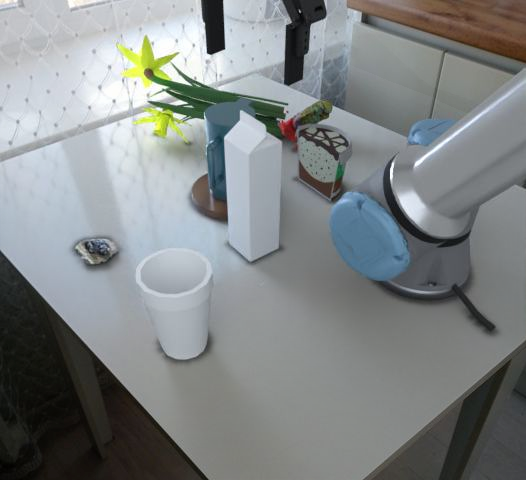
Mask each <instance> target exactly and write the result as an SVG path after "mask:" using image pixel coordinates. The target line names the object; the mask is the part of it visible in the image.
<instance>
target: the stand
mask: <svg viewBox="0 0 526 480" xmlns="http://www.w3.org/2000/svg"><path fill="white" fill-rule="evenodd" d="M191 200H192V204H193V205H194V207H195V208H196V210H198V211H199V212H200V213H202V214H203V215H205V216H207V217H210V218H212V219H217V220H221V221H228V206H227V201H222V200H219V199H217V198H215V197H214V196H213V195H212V194H211V193H210V189H209V184H208V172H206V173H205V174H203V175H201V176H199V177H198V178H197V180H195V182H194V183H193V185H192V186H191Z"/></svg>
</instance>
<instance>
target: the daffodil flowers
mask: <svg viewBox="0 0 526 480" xmlns="http://www.w3.org/2000/svg"><path fill="white" fill-rule="evenodd" d="M116 46H117V48H118V49H119V51H120V52H121V54H122V55H123V56H124V58H126V59H127V60H128V61H129V62H131V63H132V64H134V65H135V66H133V67H130V68H128V69H126V70H124V71H122V72H121V73H120V76H123V77H126V78H131V79H132V78H133V79H134V78H139V77H141V81H142V84H143V87H144V89H148V88H149V87H151V85H152V84H153V83H155V84H157V85H160V86H163V87H166V88H162V87H161V90H159V91H156V92H155V93H153V94H152V95H150V96H148V97H147V99H149V98H152V97H154V96H157V95H158V94H161V93H164V92H165V93H166V94H168V95H169V96H171V97H173V98H175V99H177V100H178V101H182V102H184V103H183V104H176V105H175V104H171V103H167V102H161V101H155V100H154V101H153V100H147V103H149V104H150V105H152V106H154V107H157V108H160V109H162V110H158V109H156V108H153V107H140V109H141V110H143V111H145V112H146V113H149V114H151V115H152V116H145V117H141V118H139V119H137V120H135V121H134V122H132V125H141V124H149V123H150V124H151V123H154V129H153V131H152V132H153V134H155V135H157V137H160V138H167V135H168V134H167V133H168V127H169V128H170V129H172V130H173V131H174V132H175V133H177V134H178V135H179V136H181V137H182V138H183V140H184V141H185V143H187V144H190V143H189V141H188V139H187V138H186V136H185V135H184V134H183V132H182V130H181V129H180V128H179V127H178V125H179V124H184V125H189V126H190V127H192V124H189V123H187V121H189V120H193V119H199V120H203V121H204V112H205V110H206V109H207V108H209V107H210V106H212V105H215V104H218V103H223V102H236V101H237V100H239V99H240V98H242V99H247V100H252V101H253V109H254V111H255V119H257V120H258V121H260V122H261V123H263V124H264V125H265V126H266V132H268V133H269V134H271V135H273V136H274V137H280V138H283V136H284V135H283V134H282V130H281V128H280V126H279V123H281V120H283V121H285V120H286V118H287V112H286V113H285V106H287V107H288V106H289V103H288V102H284V101H279V100H274V99H271V98H270V99H269V98H265V97H260V96H254V95H249V94H243V93H236V92H231V91H225V90H220V89H216V88H214V87H211V86H209V85H206V84H204V83H202V82H200V81H198V80H195V79H193V78H192V77H189V76H188V75H187V74H185V73H184V72H182V70H180V69H179V68H178V67H177V66H176V65H175V64H174V63H173V62H171V61H172V60H174V58H176V57H177V56H178V55H179V54H180V53H181V52H179V51H178V52H174V53H172V54H168V55H165V56H162V57H158V58H156V59H155V56H154V52H153V48H152V45H151V42H150V39H149V37H148V35H147V34H145V35H144V37H143V39H142V45H141V49H139V51H138V53H136V52H134V51H133V50H131V49H129V48H127V47H126V46H124V45H122V44H120V43H116ZM168 63H170V64H171V66H172V67H173V68H174V70H175V71H176V72H177V73H178V74H179V75H180V76H181V77H182V79H183V80H184V81H185V82H187V84H186V83H182V82H178V81H173V79H172V77H170V76H169V75H168V74H167V73H165V72H164V71H163V70H162V69H161V68H162V67H164V66H165V65H167V64H168ZM277 104H279V105H277ZM174 114H178V115H182V116H184V117H182V118H181V119H180V118H176V117H174ZM279 119H280V120H279Z"/></svg>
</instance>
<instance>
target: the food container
mask: <svg viewBox="0 0 526 480" xmlns="http://www.w3.org/2000/svg"><path fill="white" fill-rule="evenodd" d="M297 136H298V140H297V144H298V150H297V180H298V181H300V182H302V183H303V184H305V185H306V186H307V187H309V188H311V189H312V190H314V191H315V192H316V193H318V194H319V195H320V196H322V197H323V198H325V199H326V200H327V201H329V202H332V201H334V200H336V199H337V198H338V197H339V195H340V192H341V189H342V184H343V180H344V175H345V170H346V166H347V162H348V161H350V159H352V156H353V145H352V143H353V142H352V140H351V137H350V136H349V134H348V133H347V132H346V131H344V130H343V129H340V128H339V127H336V126H333V125H329V124H323V123H317V124H307V125H302V126H299V127H298V129H297V130H296V135H295V137H297Z"/></svg>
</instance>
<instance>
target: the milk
mask: <svg viewBox="0 0 526 480" xmlns="http://www.w3.org/2000/svg"><path fill="white" fill-rule="evenodd" d="M224 147H225V167H226V186H227V206H228V220H227V222H228V223H227V225H228V243H229V245H230V246H231V247H232V248H233V249H234V250H236V251H237V252H238V253H239V254H240V255H242V256H243V258H245V259H246V260H247V261H249V263H250V262H253V261H255V260H257V259H259V258H262V257H264V256H266V255H268V254H270V253H272V252H274V251H276V250H278V249H280V221H281V218H280V217H281V191H282V189H281V187H282V164H283V163H282V161H283V160H282V157H283V141H282V140H280V139H279V138H278V137H277V136H274V135H271V134H269V133H268V132H266V126H265V125H264V124H263V123H261V122H260V121H258V120H257V119H255V118H253V117H252V116H250V115H249V114H247V113H245V112H244V111H242V110H241V111H240V121H239V122H238V123H237V124H236V125H235V126H234V127H233V128H232V129H231V130H230V131H229V133H228V134H227V135H226V136H225V137H224Z"/></svg>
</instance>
